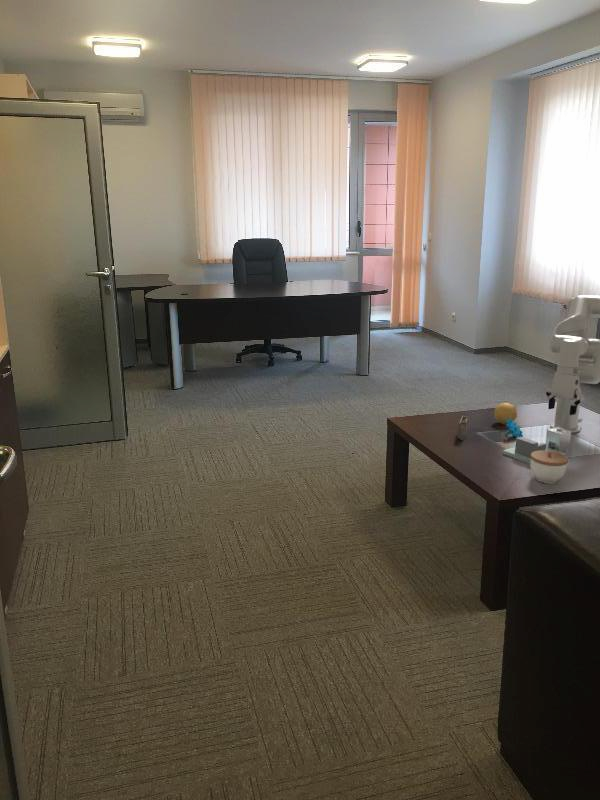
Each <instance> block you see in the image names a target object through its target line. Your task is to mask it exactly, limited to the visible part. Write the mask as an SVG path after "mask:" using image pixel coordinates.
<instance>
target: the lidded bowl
mask: <svg viewBox="0 0 600 800" xmlns="http://www.w3.org/2000/svg"><path fill="white" fill-rule="evenodd" d="M568 462H569V458H568V457H567V455H566V456H565V455H563V454H561V453H558V452H554V451H547V450H539V451H534V452H532V453H531V461H530V464H529V465H530V466H529V467H530V471H531V473H532V475H533V476H534V478H535V480H536V481H538V482H540V481H541V483H542V482H544V483H543V484H548V483H553V484H556V483H557V482H558V481H560V480H561V479H562V478H563V477H564V475H565V473H566V470H567V467H568V466H567V465H568Z"/></svg>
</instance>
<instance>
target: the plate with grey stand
mask: <svg viewBox="0 0 600 800" xmlns="http://www.w3.org/2000/svg"><path fill="white" fill-rule="evenodd" d="M539 450H547V451H554V452H558V453H561V454H563V455H565V456H566V457H567V455H566V453H565V452H563V451H562V452H559V451H556V449H553V448H547V447H546V442H545V443H544V442H541V443H539V442H538V441H534V440H532V439H529V438H527V437H524V436H523V437H519V438H516V437H515V446H514V447H511V448H506V449H503V451H502V454H503V455H504V456H508V457H511V458H513V459H516V460H517V461H518V460H519V461H521V462H524V463H526V464H529V465H530V461H531V453H532V452H534V451H539Z"/></svg>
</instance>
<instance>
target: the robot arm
mask: <svg viewBox="0 0 600 800" xmlns="http://www.w3.org/2000/svg"><path fill="white" fill-rule="evenodd" d="M566 314H567V315H566V316H567V318H565V319H564V320H562V321H560V322H559V323H558V324H556V325H555V327H554V328H553V330H552V333H551V336H550V340H549V346H548V347H549V350H550V351H551V352H552V353H553V354H557V355H558V359H557V369H556V371H555V373H554V376H553V378H552V382H551V385H548V386H545V387H544V390H545V395H546V396H547V399H548V410H553V409H555V416H554V421H553V422H551V423H550V426H549V427H550V429H551V428H555V427H560V428H563V429H566V430H570V431H571V434H573V433H574V434H575V433H579V432H580V431H581V427H580V426H579V425H578V424H579V423H582V422H583V418H582V417H579V413H580V405H581V403H582V402H583V401H584V399H585V397H586V396H585V395H584V394H583V393H582V389H581V387H580V384H591V385H596V384H599V383H600V339H599V338H590V335H591V326H590V325H589V323H590V318H595V319H596V318H597V319H598V318H599V319H600V295H588V294H587V295H586V294H581V295H580V294H579V295H576V296H574V297H570V299H568V301H567V304H566ZM555 398H557V399H555ZM556 400H557V401H556ZM555 406H556V407H555Z"/></svg>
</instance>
